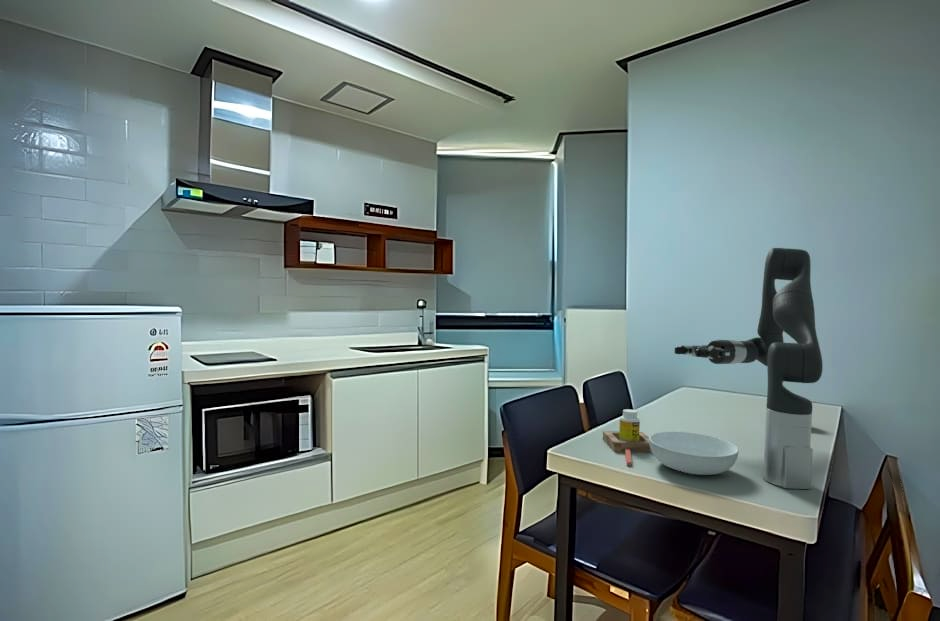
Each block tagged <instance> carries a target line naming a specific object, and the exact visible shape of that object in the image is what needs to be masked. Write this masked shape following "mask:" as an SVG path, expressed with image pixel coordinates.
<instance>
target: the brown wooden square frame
mask: <svg viewBox="0 0 940 621" xmlns="http://www.w3.org/2000/svg"><path fill="white" fill-rule="evenodd" d="M602 440H603V441H604V442H605V444H606V445H607V446H608V447H609V446H610V447H609V448H610V449H611V450H612V451H613V452H621V451H625V449H630V453H652V451H651V449H650V445H649V436H648V435H647V434H646V433H645V432H643V431H639V441H619V431H618V430H617V431H616V430H615V431H613V430H602Z"/></svg>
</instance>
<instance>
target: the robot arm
mask: <svg viewBox="0 0 940 621" xmlns="http://www.w3.org/2000/svg"><path fill="white" fill-rule="evenodd" d="M811 267H812V265H811V256H810V254H809V252H808V251H807V250H804V249H799V248H783V247H772V248H771V249H769V251H767V255H766V258H765V263H764V268H763V269H764V272H763V280H762V282H763V283H762V292H761V296H762V297H761V309H760V310H761V311H760V314H759V315H760V316H759V320H758V326H757V335H758V336H759V337H758V336H757V337H753V338H750V339H746V340H734V339H713V340H711V341H710V342H709V343H708V344H706V345H705V344H701V345H696V344H695V345H694V344H692V345H681V346H675V347H674V355H684V356H685V355H688V356H689V355H691V356H692V357H696V358H702V359H703V358H704V359H708V361H709V362H711V363H712V364H715V365H735V364H749V363H753V362H755V361H758V362H760V363H761V364H763V365H764V366H765V367H767V395H766V412H765V414H766V415H765V430H764V431H765V433H764V452H763V453H764V454H763V479H764V480H765V481H766V482H768V483H769V484H772V485H775V486H778V487H781V488H783V489H792V490H793V489H794V490H795V489H796V490H797V489H799V490H800V489H801V490H811V489H812V471H813V470H812V469H813V452H814V450H813V448H812V446H811V441H812V438H811V437H812V424H813V422H812V421H813V403H812V401H811V400H810V399H808V398H806V397H803V396H801V395H799V394H796V393H794V392H792V391H790V390H789V389H787V387H786V386H784V382H789V383H797V384H815V383H818V381H820V379H821V378H822V374H823V357H822V353H821V348H820V343H819V339H818V335H817V334H818V333H817V330H816V317H815V305H814V300H813V292H812V286H811ZM776 280H783V281H790V282H788V283H787V284H786V285H784V286H783V287H781V288H780V289H779V291H777V289H776V284H775V282H776ZM784 333H786V334H787V335H788V336H789V337H790V338H791V339H793V340H794V341H795V342H784V335H783V334H784Z"/></svg>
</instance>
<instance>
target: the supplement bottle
mask: <svg viewBox="0 0 940 621" xmlns="http://www.w3.org/2000/svg"><path fill="white" fill-rule="evenodd" d="M640 426H641V420H640V418H639V417H638V410H635V409H629V408H627V409H623V410H622V416H620V417H619V441H639V432H640Z"/></svg>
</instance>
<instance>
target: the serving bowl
mask: <svg viewBox="0 0 940 621" xmlns="http://www.w3.org/2000/svg"><path fill="white" fill-rule="evenodd" d="M648 437H649V445H650V449H651V451H652V452H651V453H652V455H653V456H654V457H655V459H656V460H657V461H658V462H659V463H661V464H662V465H664V466H666V467H668V468H671V469H673V470H676V471H678V472H680V471H681V473H683V472H684V473H685V474H687V473H688V475H694V474H695V475H697V476H706V475H707V476H709V475H711V476H712V475H718V474H723V473H725V472H726V471H729V470H730V469H731V468H733V467H734V465H735V464H736V462H737V459H738V458H739V457H738V456H739V451H740V450H739V448H738V447H737V446H736V445H735V444H733V443H732V442H729V441H727V440H725V439H723V438H719V437H716V436H712V435H706V434H702V433H697V432H696V433H695V432H688V431H673V430H672V431H660V432H655V433H652V434H650V435H649V436H648ZM695 475H694V476H695Z"/></svg>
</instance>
